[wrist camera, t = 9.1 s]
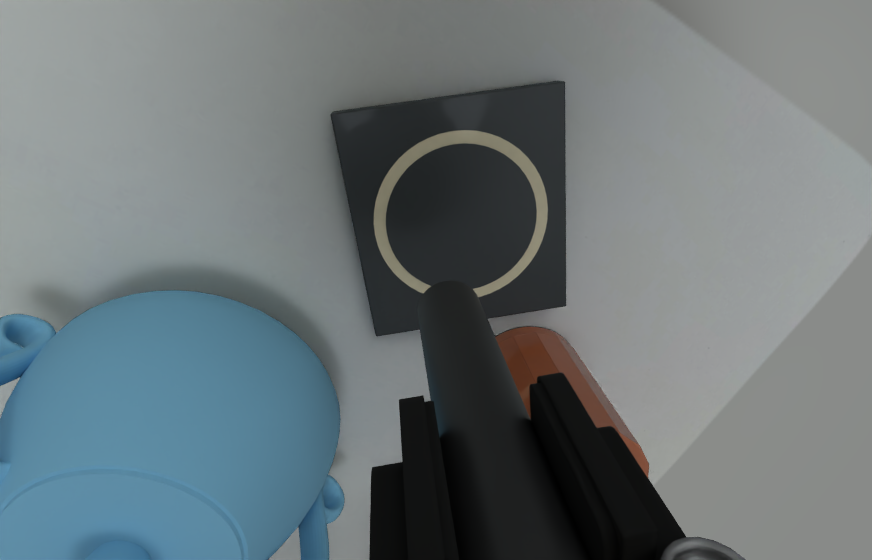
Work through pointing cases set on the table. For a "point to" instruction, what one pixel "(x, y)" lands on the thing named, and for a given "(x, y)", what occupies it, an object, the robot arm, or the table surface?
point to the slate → (458, 199)
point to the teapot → (164, 434)
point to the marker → (489, 439)
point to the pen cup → (551, 354)
